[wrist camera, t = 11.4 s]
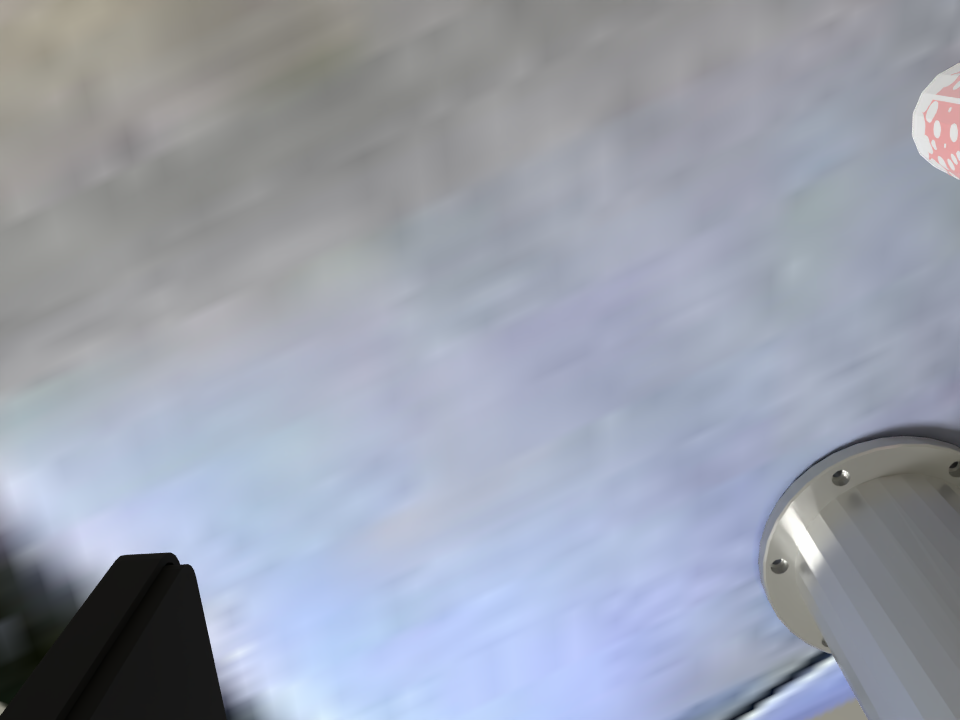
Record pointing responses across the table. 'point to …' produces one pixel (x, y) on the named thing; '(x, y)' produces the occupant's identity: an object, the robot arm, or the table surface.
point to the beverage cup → (940, 122)
